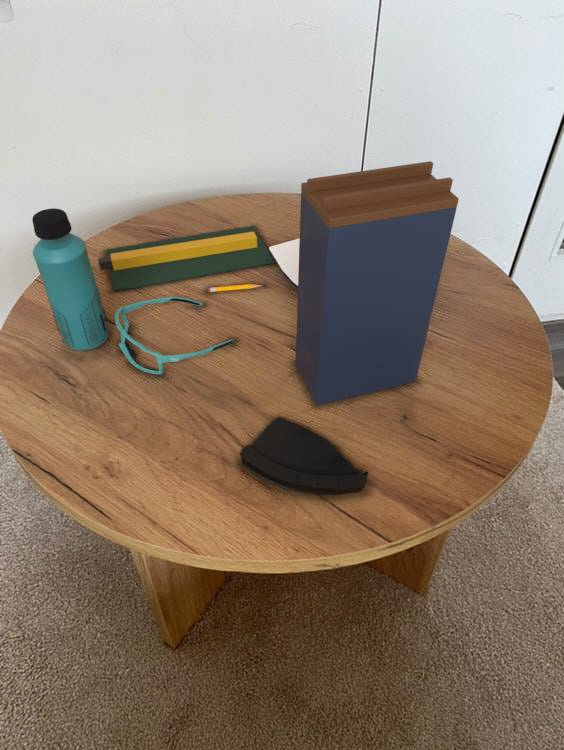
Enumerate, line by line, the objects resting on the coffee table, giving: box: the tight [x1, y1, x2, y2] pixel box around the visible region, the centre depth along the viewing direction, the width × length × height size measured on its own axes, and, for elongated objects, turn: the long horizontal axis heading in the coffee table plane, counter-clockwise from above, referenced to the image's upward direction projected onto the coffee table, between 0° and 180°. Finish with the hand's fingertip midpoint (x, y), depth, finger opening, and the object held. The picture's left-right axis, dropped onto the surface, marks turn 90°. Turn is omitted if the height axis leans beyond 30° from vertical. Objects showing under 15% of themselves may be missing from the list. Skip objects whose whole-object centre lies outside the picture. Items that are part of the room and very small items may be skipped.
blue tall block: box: [295, 160, 460, 406], centre depth 68 cm, size 14×8×27 cm, turn 108°
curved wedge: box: [239, 416, 369, 496], centre depth 66 cm, size 8×14×2 cm, turn 55°
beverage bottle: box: [31, 208, 111, 351], centre depth 74 cm, size 6×7×20 cm
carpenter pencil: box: [97, 232, 257, 271], centre depth 96 cm, size 26×2×2 cm, turn 108°
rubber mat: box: [105, 225, 275, 293], centre depth 97 cm, size 26×12×1 cm, turn 108°
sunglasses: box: [114, 296, 236, 376], centre depth 81 cm, size 14×15×5 cm
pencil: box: [207, 283, 263, 293], centre depth 91 cm, size 1×9×1 cm, turn 99°
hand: (5, 8), depth 59 cm, fingers open, 8 cm apart
